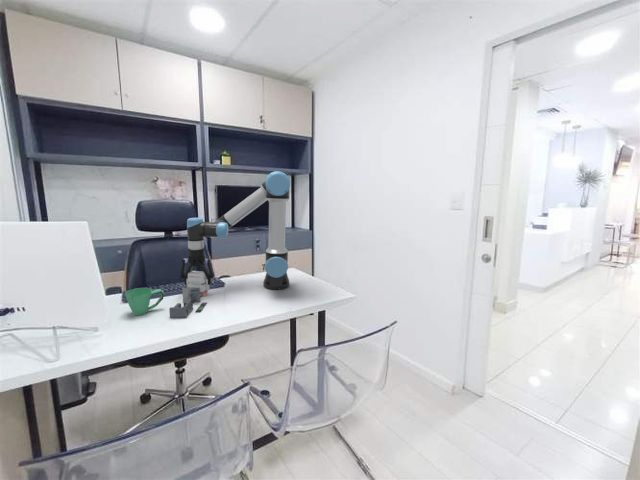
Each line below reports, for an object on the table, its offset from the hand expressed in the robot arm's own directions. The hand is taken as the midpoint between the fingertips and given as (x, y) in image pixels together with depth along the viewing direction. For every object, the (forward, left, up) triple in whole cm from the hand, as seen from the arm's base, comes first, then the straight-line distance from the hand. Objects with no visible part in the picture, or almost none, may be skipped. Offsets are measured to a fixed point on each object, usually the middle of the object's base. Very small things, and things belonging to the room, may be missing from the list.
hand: (198, 290), depth 155 cm
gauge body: (-2, +19, -2) cm, 20 cm away
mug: (+16, +21, -3) cm, 27 cm away
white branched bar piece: (-1, +13, -2) cm, 13 cm away
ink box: (0, 0, -2) cm, 2 cm away
